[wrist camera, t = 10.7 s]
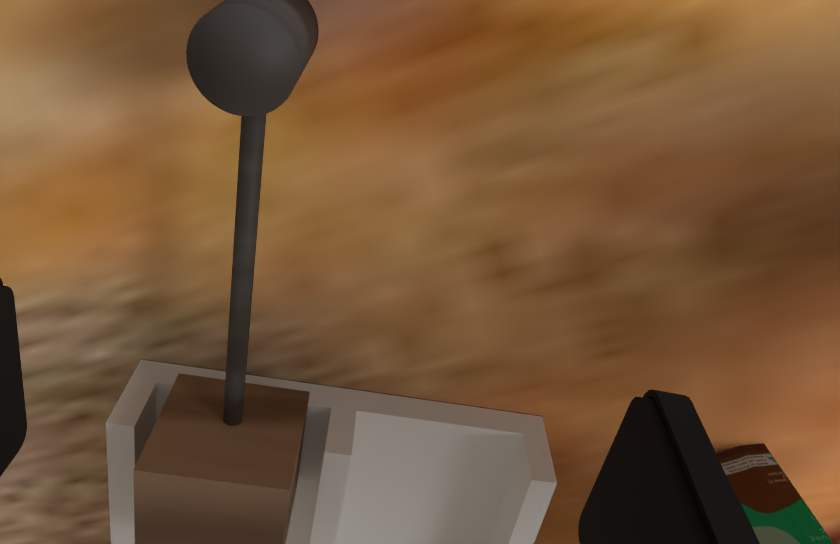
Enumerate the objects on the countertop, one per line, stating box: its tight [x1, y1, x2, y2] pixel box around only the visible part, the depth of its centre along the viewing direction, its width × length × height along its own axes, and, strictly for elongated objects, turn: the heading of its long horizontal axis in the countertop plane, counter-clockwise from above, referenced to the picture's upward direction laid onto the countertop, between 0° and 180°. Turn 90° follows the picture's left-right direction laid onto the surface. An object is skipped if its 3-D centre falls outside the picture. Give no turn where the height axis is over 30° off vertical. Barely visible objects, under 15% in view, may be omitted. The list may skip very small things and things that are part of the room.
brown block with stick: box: [133, 0, 318, 544], centre depth 27 cm, size 24×6×6 cm, turn 170°
